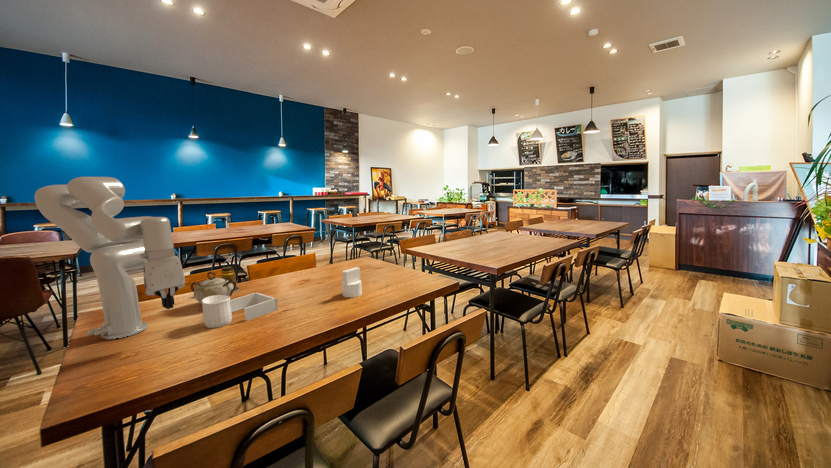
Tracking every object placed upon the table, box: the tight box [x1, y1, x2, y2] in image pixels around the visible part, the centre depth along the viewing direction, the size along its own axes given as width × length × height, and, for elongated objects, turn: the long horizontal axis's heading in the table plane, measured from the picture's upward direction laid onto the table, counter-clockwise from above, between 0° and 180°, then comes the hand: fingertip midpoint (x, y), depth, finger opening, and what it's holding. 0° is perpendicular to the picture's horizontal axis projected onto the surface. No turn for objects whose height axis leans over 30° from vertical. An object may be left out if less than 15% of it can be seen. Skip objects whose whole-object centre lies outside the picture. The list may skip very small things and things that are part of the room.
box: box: [230, 292, 278, 322], centre depth 134 cm, size 13×15×5 cm
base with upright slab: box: [341, 267, 363, 298], centre depth 153 cm, size 9×9×12 cm
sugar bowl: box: [190, 271, 237, 305], centre depth 142 cm, size 20×15×15 cm
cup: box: [201, 295, 233, 329], centre depth 122 cm, size 10×10×10 cm
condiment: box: [220, 266, 240, 293], centre depth 161 cm, size 7×8×12 cm
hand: (169, 307), depth 109 cm, fingers closed
